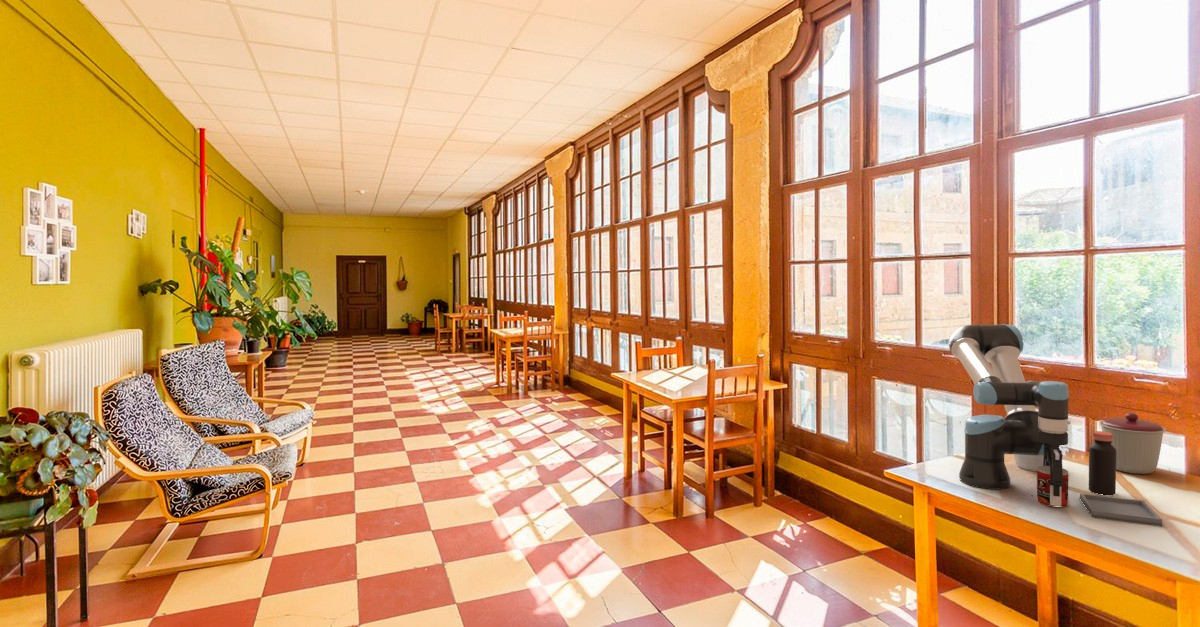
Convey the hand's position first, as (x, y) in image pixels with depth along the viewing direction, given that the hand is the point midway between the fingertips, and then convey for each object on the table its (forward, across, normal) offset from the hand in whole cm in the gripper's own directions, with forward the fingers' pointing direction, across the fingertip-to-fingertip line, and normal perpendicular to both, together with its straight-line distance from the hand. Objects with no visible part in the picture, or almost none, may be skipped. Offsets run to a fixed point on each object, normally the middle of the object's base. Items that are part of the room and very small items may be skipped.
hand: (1052, 500), depth 187 cm
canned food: (+1, 0, 0) cm, 1 cm away
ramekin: (+1, +39, -1) cm, 39 cm away
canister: (+1, +48, -31) cm, 57 cm away
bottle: (+1, +17, -16) cm, 23 cm away
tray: (+1, -1, -16) cm, 16 cm away
